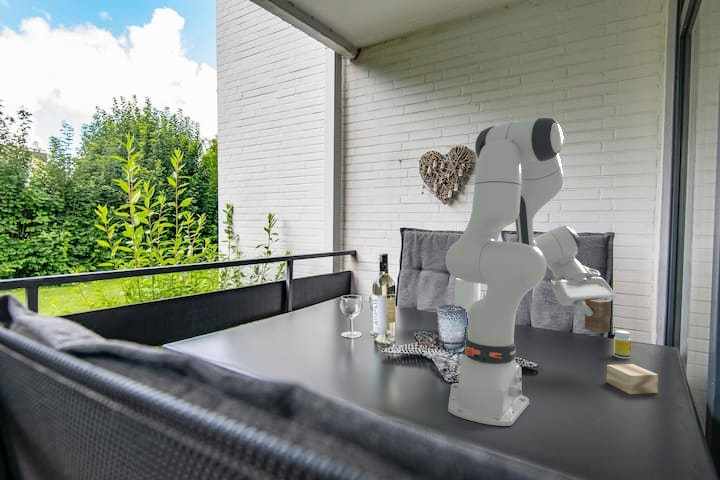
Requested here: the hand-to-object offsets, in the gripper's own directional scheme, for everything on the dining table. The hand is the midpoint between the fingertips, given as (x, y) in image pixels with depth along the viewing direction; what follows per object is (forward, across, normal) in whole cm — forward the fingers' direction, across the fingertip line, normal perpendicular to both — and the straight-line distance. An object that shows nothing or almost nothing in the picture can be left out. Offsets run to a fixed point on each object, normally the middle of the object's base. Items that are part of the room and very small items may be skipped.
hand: (599, 314), depth 117 cm
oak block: (+20, -1, +5) cm, 21 cm away
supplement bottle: (+7, +21, +18) cm, 28 cm away
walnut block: (+3, 0, +4) cm, 5 cm away
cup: (-22, -11, +47) cm, 53 cm away
